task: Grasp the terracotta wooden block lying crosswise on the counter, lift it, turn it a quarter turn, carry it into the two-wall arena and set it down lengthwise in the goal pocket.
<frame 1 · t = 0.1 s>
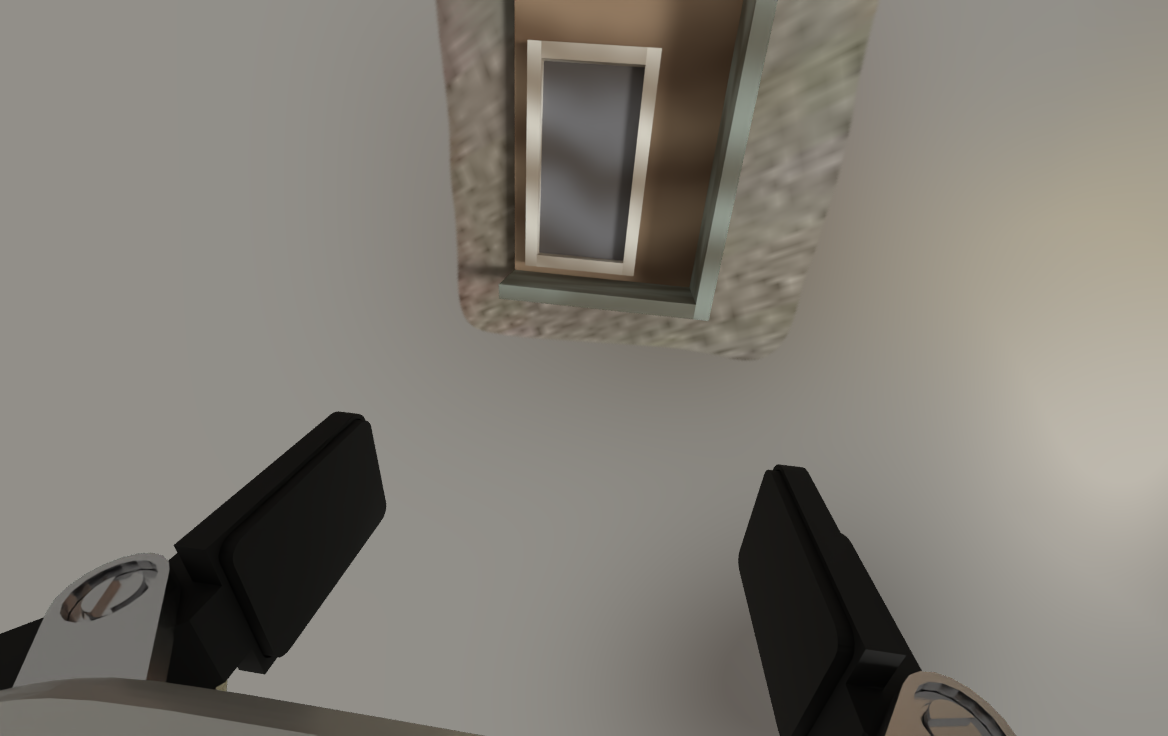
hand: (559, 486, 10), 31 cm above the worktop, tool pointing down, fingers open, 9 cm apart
arena: (619, 157, 35), on the worktop
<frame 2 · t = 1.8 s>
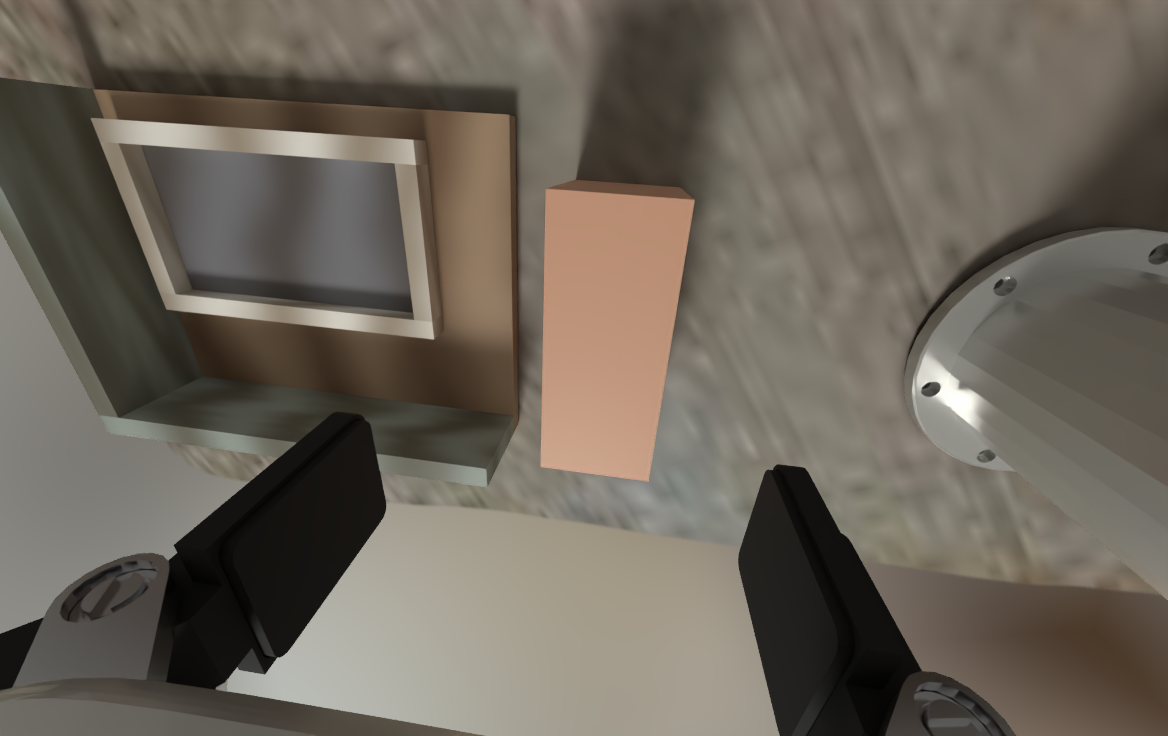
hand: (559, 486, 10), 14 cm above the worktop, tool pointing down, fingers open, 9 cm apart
arena: (330, 275, 25), on the worktop
block: (616, 303, 23), on the worktop
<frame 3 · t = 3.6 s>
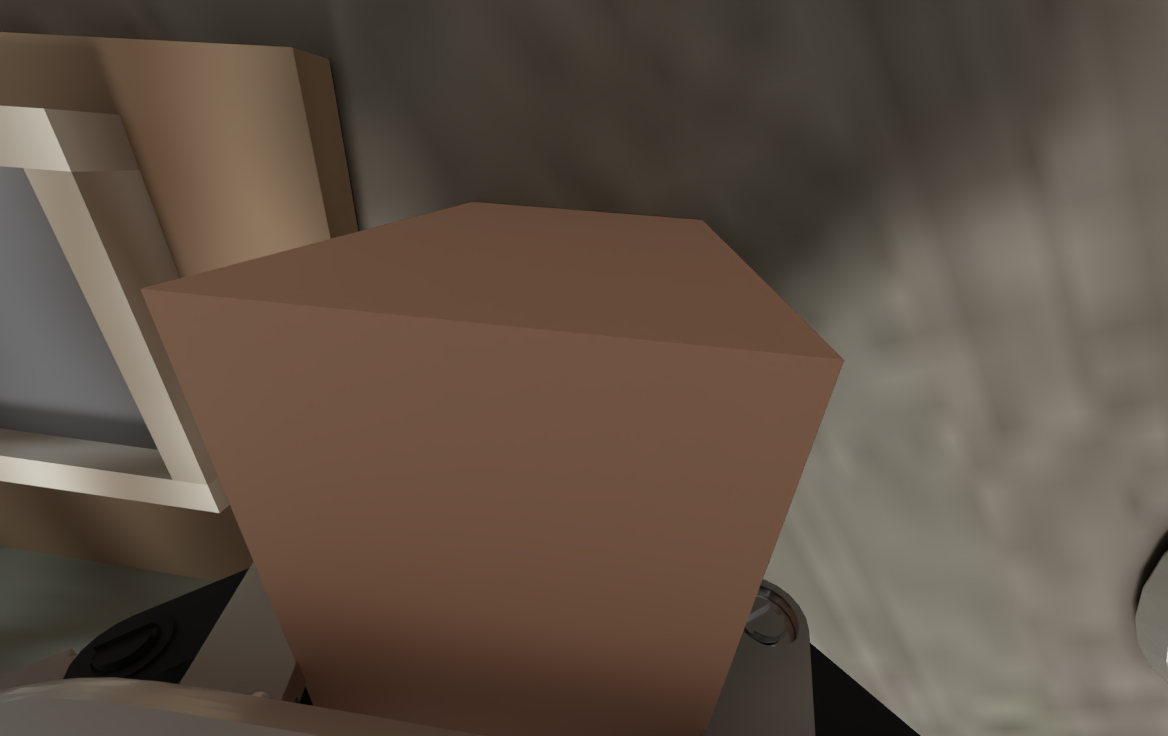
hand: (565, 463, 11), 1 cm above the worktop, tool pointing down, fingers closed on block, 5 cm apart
arena: (50, 375, 13), on the worktop
block: (571, 438, 12), on the worktop, touching gripper
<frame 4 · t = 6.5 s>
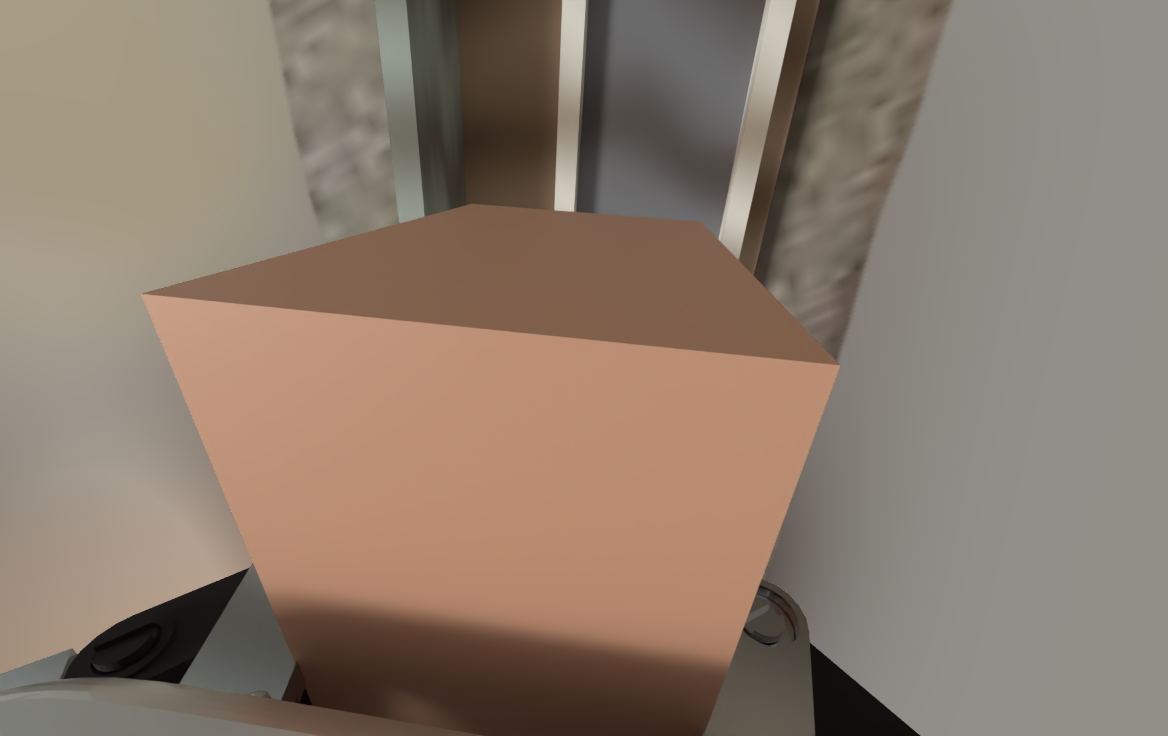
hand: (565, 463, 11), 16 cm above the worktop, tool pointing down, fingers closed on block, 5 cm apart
arena: (605, 163, 22), on the worktop
block: (571, 439, 12), point 15 cm above the worktop, touching gripper
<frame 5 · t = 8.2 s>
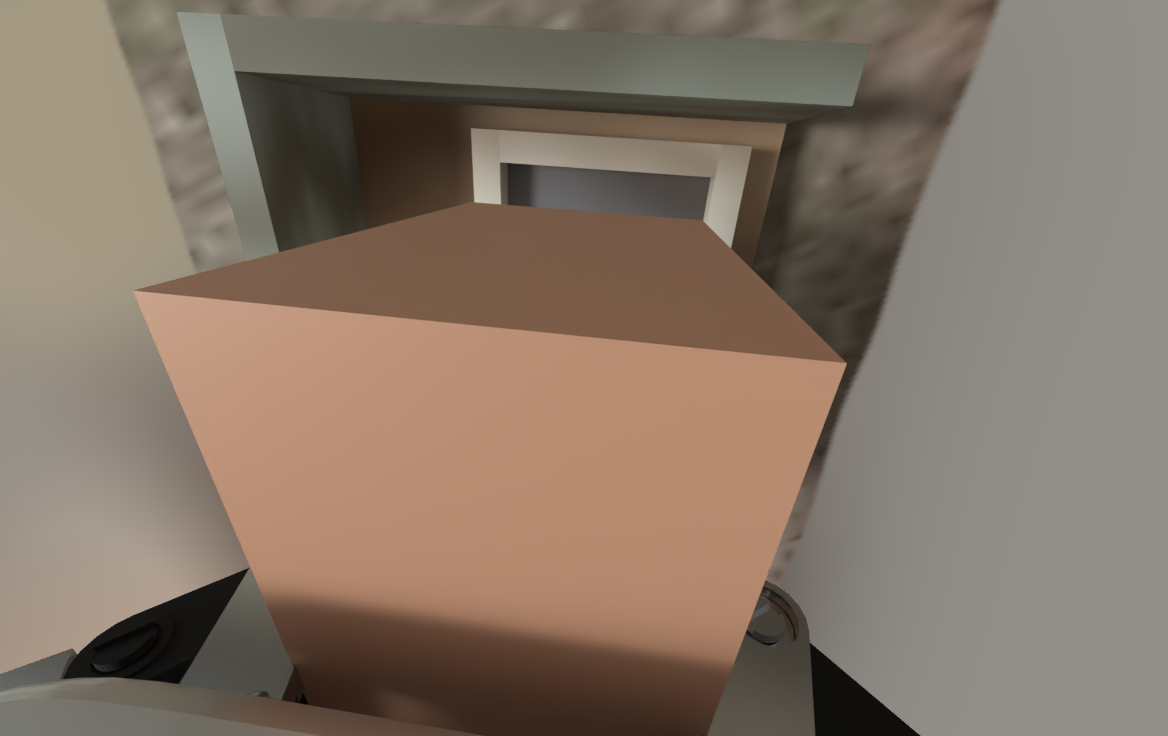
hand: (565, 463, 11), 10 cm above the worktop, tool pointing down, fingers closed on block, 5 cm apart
arena: (542, 349, 20), on the worktop
block: (571, 439, 12), point 9 cm above the worktop, touching gripper
when the fingers open (4 cm above the worktop, at t = 9.7 s): block drops 1 cm, resting on arena.
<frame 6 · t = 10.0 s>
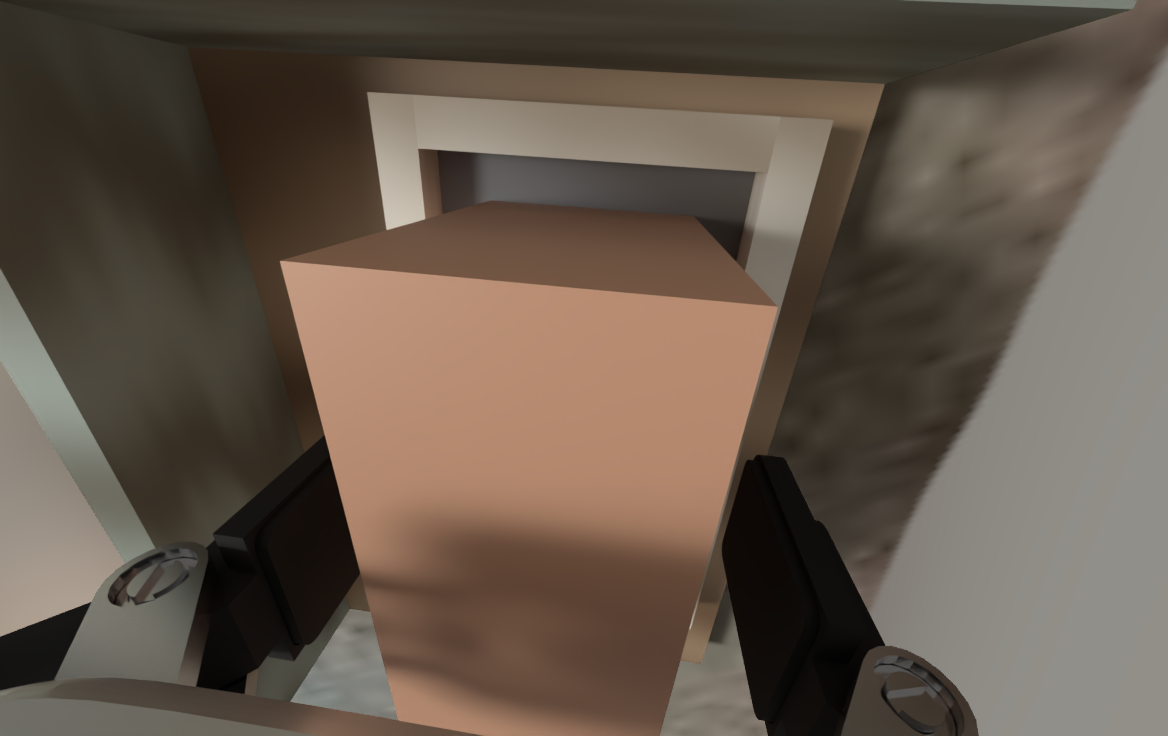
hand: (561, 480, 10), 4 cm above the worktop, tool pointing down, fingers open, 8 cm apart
arena: (508, 410, 15), on the worktop
block: (577, 414, 13), point 1 cm above the worktop, touching arena
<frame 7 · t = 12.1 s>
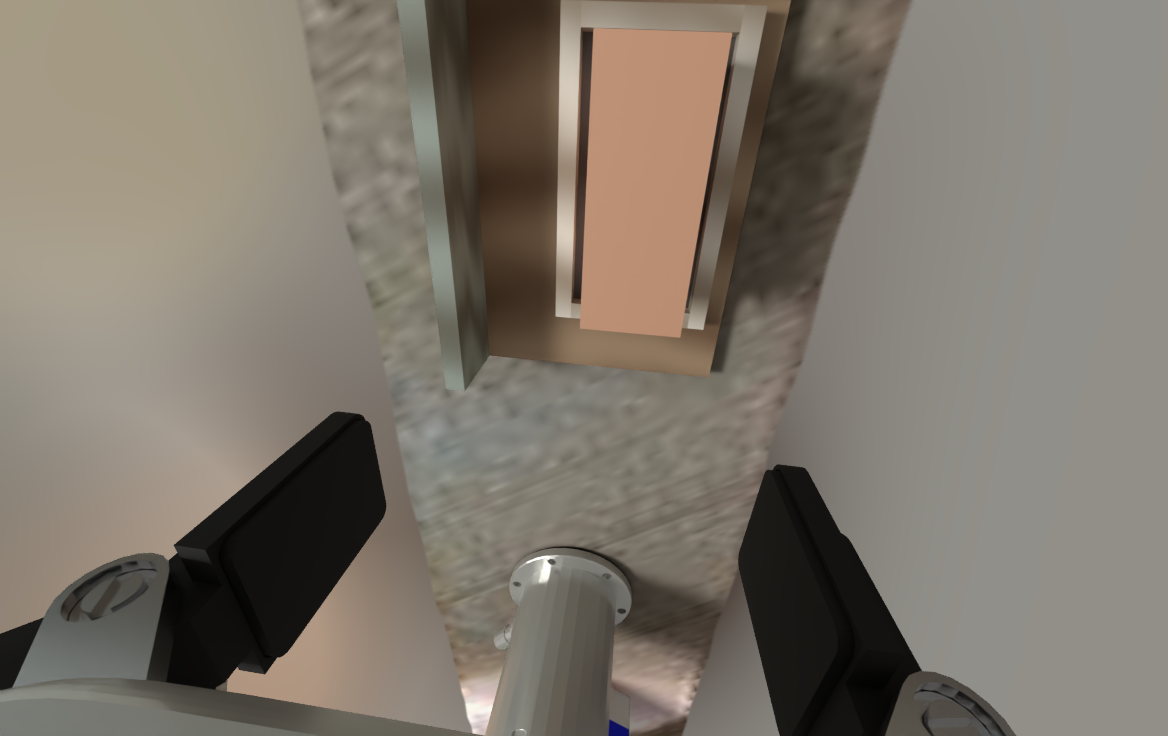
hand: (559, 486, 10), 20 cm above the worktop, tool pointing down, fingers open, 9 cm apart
arena: (599, 200, 26), on the worktop
puzzle toy: (575, 691, 55), on the worktop
block: (642, 188, 24), point 1 cm above the worktop, touching arena
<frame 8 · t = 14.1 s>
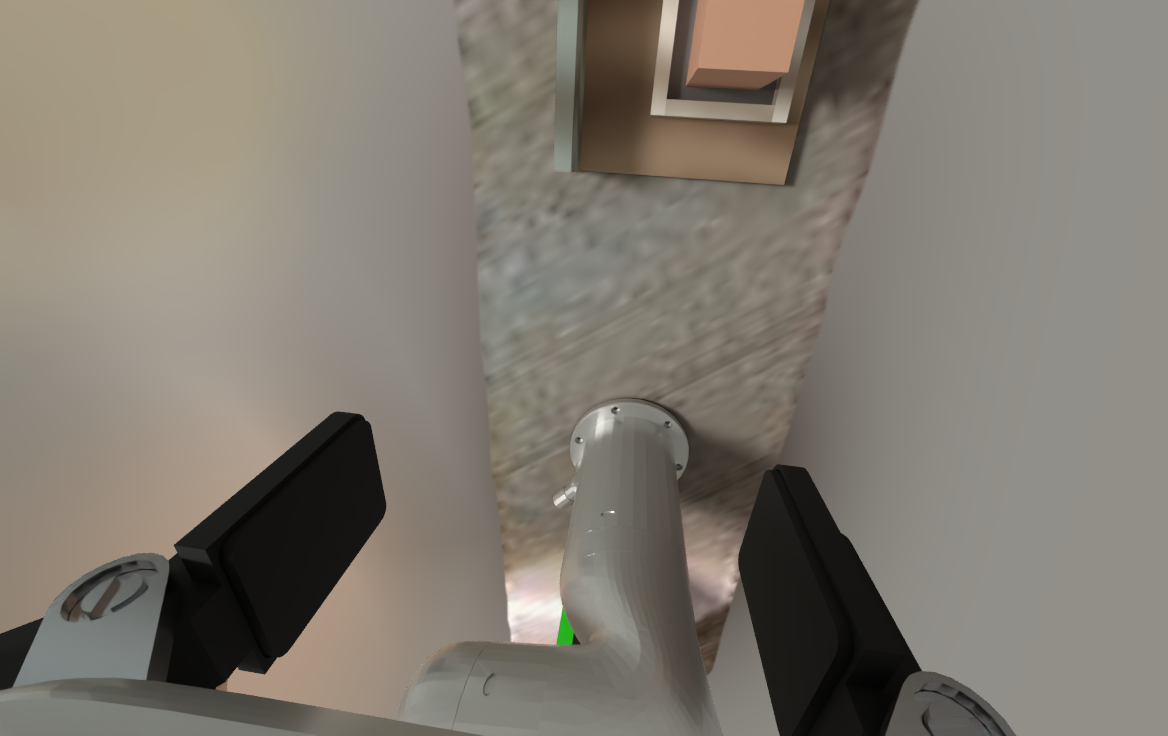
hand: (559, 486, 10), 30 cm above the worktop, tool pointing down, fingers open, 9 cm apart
arena: (695, 1, 29), on the worktop
puzzle toy: (619, 580, 56), on the worktop
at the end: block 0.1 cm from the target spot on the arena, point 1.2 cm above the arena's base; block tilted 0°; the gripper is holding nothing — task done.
